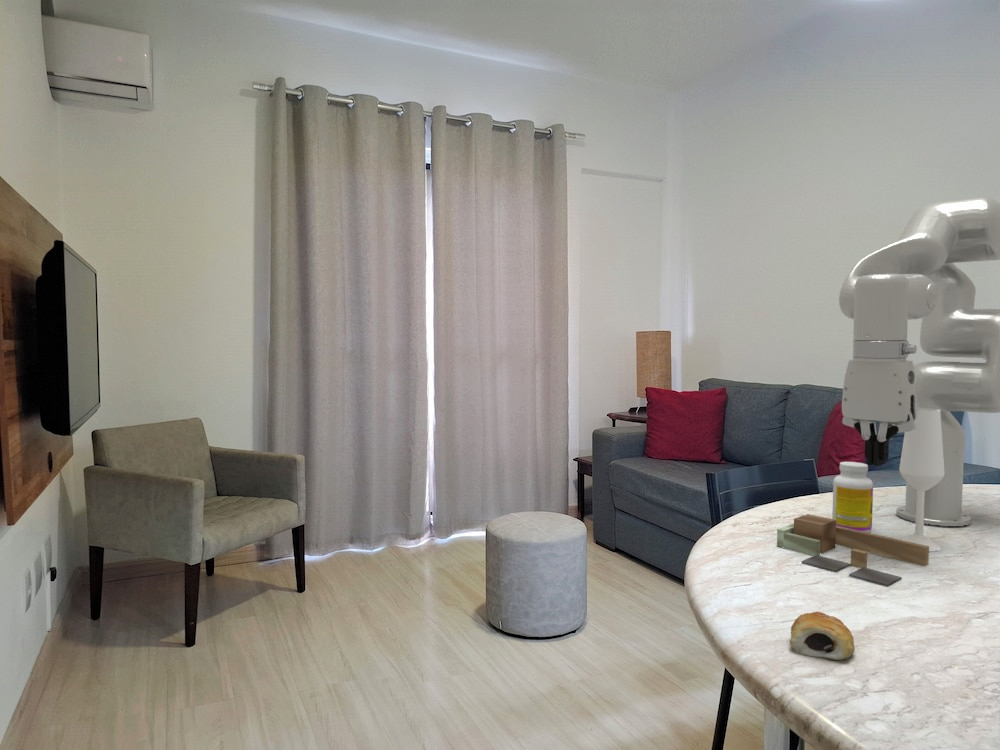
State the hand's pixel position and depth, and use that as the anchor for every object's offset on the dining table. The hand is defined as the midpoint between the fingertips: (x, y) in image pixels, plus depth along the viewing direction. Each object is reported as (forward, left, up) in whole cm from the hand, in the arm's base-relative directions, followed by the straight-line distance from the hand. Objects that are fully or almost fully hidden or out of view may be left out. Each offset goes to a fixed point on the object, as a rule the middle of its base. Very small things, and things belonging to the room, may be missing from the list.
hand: (876, 464), depth 109 cm
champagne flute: (-15, +2, -16) cm, 22 cm away
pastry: (+37, +9, -16) cm, 41 cm away
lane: (+3, -3, -16) cm, 17 cm away
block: (+1, -9, -16) cm, 19 cm away
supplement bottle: (-14, -9, -16) cm, 23 cm away
